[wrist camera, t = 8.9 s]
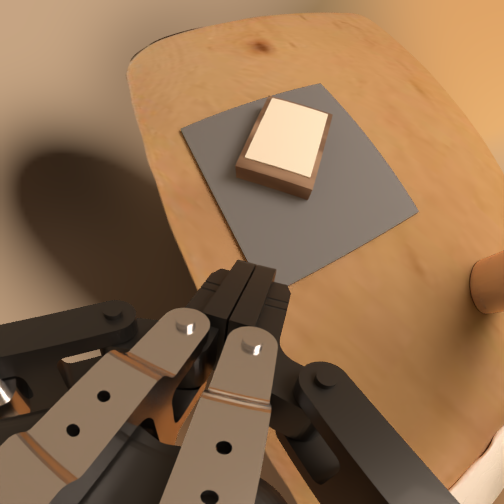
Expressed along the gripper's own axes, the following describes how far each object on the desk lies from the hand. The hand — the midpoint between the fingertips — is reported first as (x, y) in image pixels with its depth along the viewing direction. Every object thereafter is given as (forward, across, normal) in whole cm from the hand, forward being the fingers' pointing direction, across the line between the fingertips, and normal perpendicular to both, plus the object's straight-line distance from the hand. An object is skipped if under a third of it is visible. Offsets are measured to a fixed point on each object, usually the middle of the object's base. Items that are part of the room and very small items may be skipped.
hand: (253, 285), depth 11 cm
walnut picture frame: (+26, +4, +1) cm, 26 cm away
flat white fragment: (+4, -54, +40) cm, 67 cm away
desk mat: (+31, +1, -1) cm, 31 cm away
